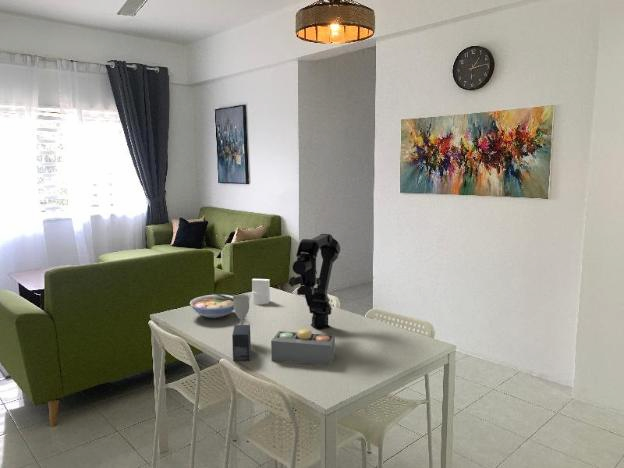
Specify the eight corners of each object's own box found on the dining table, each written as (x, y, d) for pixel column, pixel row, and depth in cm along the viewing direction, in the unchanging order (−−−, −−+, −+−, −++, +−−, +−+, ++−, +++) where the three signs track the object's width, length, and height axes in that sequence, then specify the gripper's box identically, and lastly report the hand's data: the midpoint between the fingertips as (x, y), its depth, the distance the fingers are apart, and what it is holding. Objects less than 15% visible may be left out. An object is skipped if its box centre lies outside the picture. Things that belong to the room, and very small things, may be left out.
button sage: (281, 339, 186) (281, 332, 185) (294, 340, 185) (294, 333, 184) (278, 344, 181) (277, 336, 180) (291, 345, 180) (291, 337, 179)
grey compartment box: (279, 349, 188) (278, 331, 187) (334, 354, 184) (334, 335, 182) (271, 360, 178) (271, 340, 177) (330, 365, 173) (330, 345, 172)
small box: (234, 350, 187) (233, 324, 185) (251, 349, 188) (250, 324, 186) (232, 361, 177) (231, 334, 175) (250, 361, 177) (249, 333, 176)
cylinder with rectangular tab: (250, 304, 247) (249, 281, 245) (255, 299, 256) (254, 277, 254) (267, 305, 246) (267, 282, 244) (271, 300, 254) (271, 277, 253)
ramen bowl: (180, 315, 229) (179, 298, 228) (221, 305, 245) (221, 289, 243) (207, 328, 211) (206, 310, 210) (250, 317, 226) (250, 300, 225)
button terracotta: (317, 342, 183) (317, 334, 183) (330, 343, 182) (330, 335, 182) (314, 347, 178) (314, 339, 178) (328, 348, 177) (328, 340, 176)
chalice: (236, 343, 194) (235, 300, 191) (231, 337, 200) (230, 295, 197) (253, 340, 198) (252, 297, 195) (247, 334, 203) (247, 293, 201)
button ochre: (299, 336, 184) (299, 328, 184) (312, 337, 183) (312, 329, 183) (296, 341, 179) (296, 333, 179) (309, 342, 178) (309, 334, 178)
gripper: (295, 263, 209) (295, 298, 211) (284, 273, 191) (284, 311, 193) (320, 265, 206) (320, 300, 209) (312, 275, 188) (311, 313, 191)
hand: (309, 306), depth 200 cm, fingers closed
